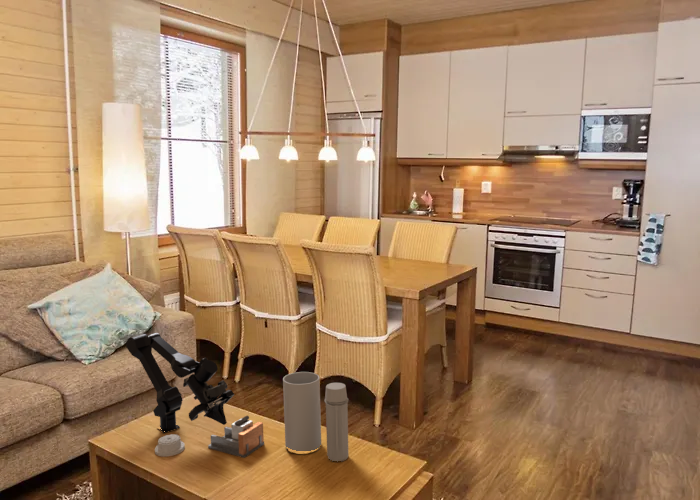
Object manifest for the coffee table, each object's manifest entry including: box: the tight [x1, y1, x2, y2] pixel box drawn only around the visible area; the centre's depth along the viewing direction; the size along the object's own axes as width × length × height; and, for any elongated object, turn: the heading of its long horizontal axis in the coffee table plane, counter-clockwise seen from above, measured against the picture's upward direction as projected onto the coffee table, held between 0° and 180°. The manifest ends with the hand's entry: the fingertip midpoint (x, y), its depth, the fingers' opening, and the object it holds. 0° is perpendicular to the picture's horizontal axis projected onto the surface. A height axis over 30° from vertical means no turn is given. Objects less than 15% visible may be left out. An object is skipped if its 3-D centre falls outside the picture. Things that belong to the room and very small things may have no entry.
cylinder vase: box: [282, 371, 322, 451], centre depth 194 cm, size 12×12×25 cm
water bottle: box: [324, 382, 349, 463], centre depth 185 cm, size 9×8×25 cm
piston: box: [230, 415, 254, 441], centre depth 195 cm, size 5×6×9 cm
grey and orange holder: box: [207, 421, 265, 459], centre depth 197 cm, size 16×11×8 cm
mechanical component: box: [154, 433, 186, 457], centre depth 196 cm, size 10×4×10 cm
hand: (225, 423), depth 199 cm, fingers closed
